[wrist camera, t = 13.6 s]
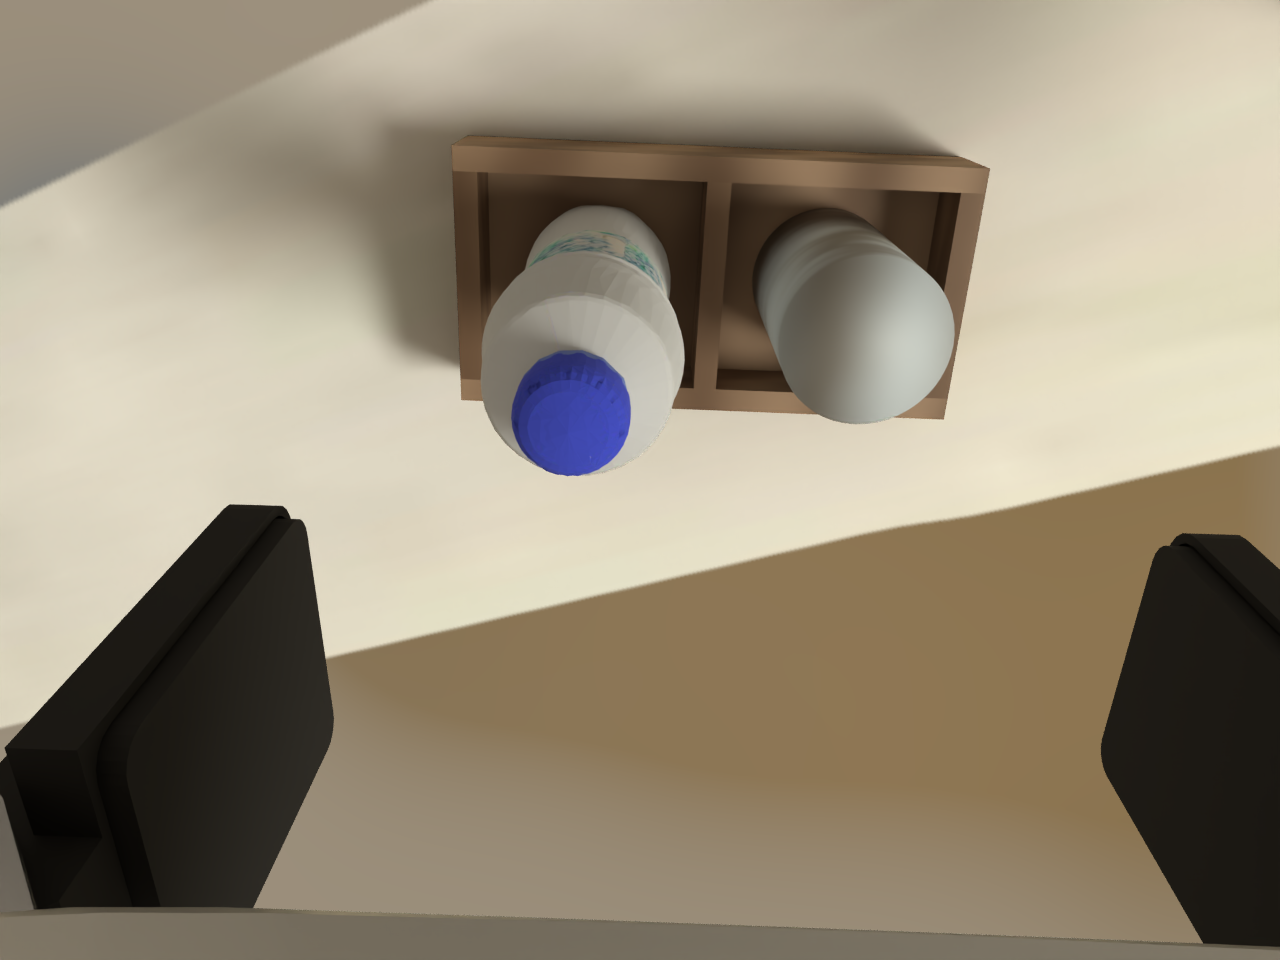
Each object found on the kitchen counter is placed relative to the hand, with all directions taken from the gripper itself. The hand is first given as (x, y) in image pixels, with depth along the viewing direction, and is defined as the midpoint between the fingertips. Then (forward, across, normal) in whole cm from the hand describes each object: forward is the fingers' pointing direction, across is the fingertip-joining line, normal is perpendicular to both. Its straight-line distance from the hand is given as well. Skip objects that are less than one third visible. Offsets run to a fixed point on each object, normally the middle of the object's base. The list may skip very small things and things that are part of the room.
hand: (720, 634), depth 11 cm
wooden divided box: (+36, -1, +4) cm, 37 cm away
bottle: (+35, +4, +4) cm, 36 cm away
